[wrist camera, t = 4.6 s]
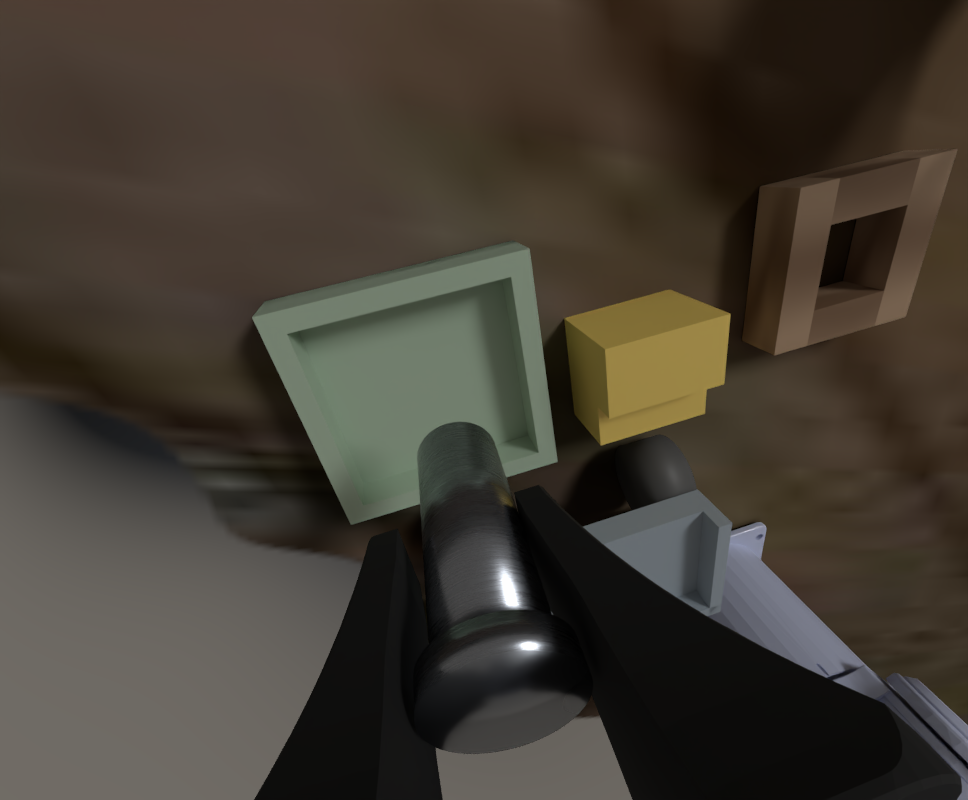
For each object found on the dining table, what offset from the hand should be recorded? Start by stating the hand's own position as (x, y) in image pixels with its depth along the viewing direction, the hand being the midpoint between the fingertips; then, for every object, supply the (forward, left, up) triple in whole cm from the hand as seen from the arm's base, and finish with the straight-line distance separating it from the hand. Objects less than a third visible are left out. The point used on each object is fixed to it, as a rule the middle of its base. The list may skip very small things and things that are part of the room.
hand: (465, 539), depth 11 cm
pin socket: (+1, -19, -9) cm, 21 cm away
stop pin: (0, 0, -3) cm, 3 cm away
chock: (-1, -9, -10) cm, 13 cm away
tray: (0, 0, -9) cm, 9 cm away
